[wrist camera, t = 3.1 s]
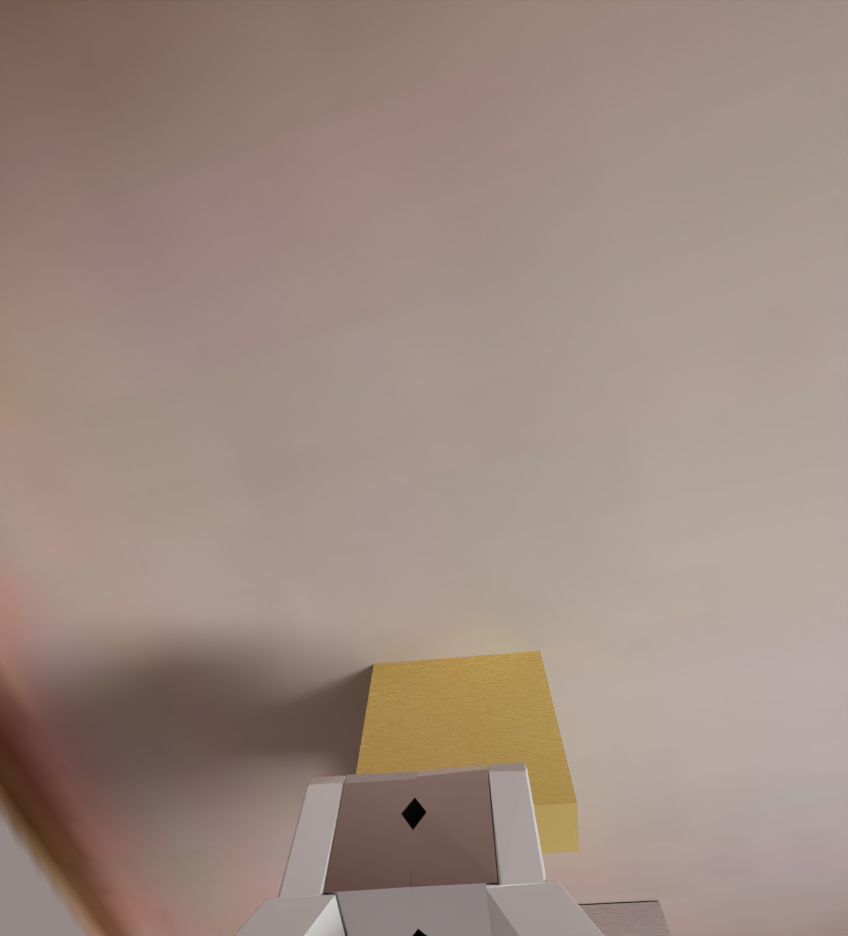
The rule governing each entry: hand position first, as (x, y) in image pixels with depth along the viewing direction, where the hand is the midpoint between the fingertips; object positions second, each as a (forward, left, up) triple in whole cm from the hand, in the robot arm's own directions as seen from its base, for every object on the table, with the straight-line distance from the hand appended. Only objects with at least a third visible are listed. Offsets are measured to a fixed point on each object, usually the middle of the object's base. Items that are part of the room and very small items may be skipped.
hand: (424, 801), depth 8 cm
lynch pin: (+10, 0, -8) cm, 13 cm away
